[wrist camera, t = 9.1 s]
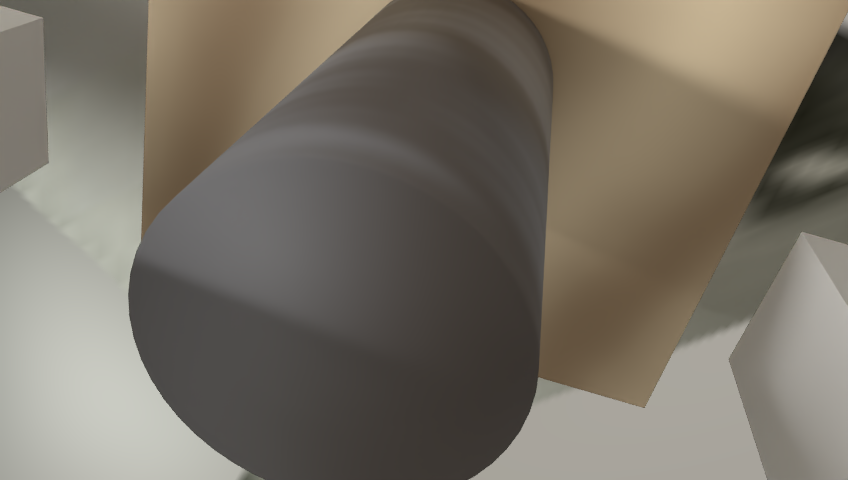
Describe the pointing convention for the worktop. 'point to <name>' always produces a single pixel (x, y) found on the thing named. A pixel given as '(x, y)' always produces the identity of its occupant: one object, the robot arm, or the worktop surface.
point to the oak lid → (440, 211)
